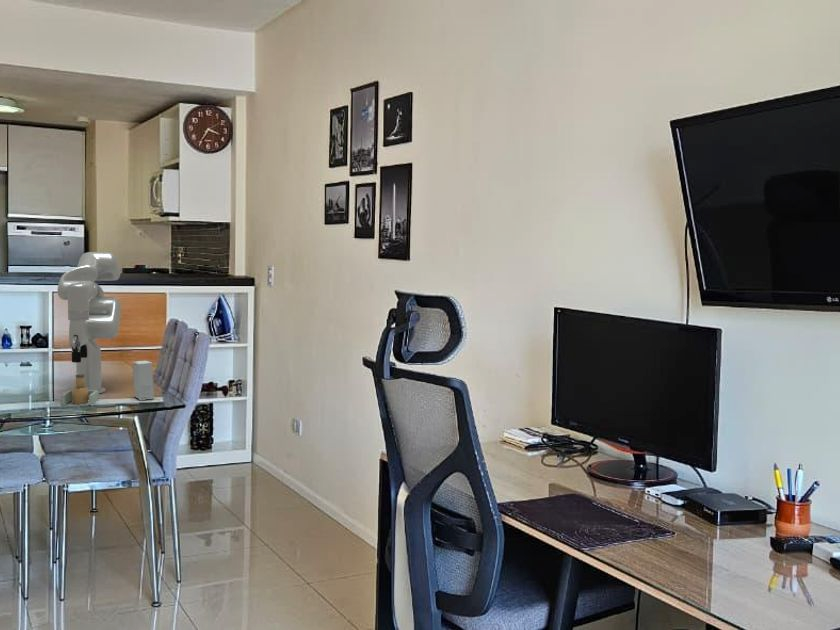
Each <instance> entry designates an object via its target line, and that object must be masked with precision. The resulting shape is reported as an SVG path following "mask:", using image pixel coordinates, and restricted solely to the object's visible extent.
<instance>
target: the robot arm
mask: <svg viewBox="0 0 840 630" xmlns="http://www.w3.org/2000/svg"><path fill="white" fill-rule="evenodd" d="M121 269H122V268H121V265H120V263H119V260H118V258H117V256H116V255H115V254H114V253H112V252H109V251H89V252H85V253H83V254H82V255H81V256H80V257H79V260H78V264H77V266H76V267H75V268H72V269H71V270H69V271H67V272H65V273H63V274H62V275H61V276H60V279H59V281H58V285H57V295H58V297H59V299H61V300H63V301H67V320H68V321H69V328H68V346H69V347H71V362H72V363H76V364H75V366H76V368H75V369H76V374H75V375H78V374H84V387H88V390H99V394H103V393H105V392H106V391H107V390H106V388H105V387H103V386H102V349H101V346H100V345H99V344H98V342H96V340H95V339H98V340H99V339H114V338H116V337H117V336H118V335H119V331H120V324H121V323H120V321H121V314H122V313H121V312H122V311H121V310H122V307H121V302H120V300H119V298H117V297H113V296H105V292H104V290H103V288H102V287H101V286H100V285H99V284H98V283H97V281H99V282H100V281H117V280H119V279H120V276H121V273H122V271H121ZM95 281H96V282H95Z"/></svg>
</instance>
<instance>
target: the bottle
mask: <svg viewBox="0 0 840 630" xmlns="http://www.w3.org/2000/svg"><path fill="white" fill-rule="evenodd" d="M72 395H73V401H72V405H75V404H83V405H86V404H85V403H88V404H89V401H88V387H84V374H78V375H77V374H75V386H74V387H72Z"/></svg>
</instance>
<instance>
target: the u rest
mask: <svg viewBox="0 0 840 630" xmlns="http://www.w3.org/2000/svg"><path fill="white" fill-rule="evenodd" d="M98 399H99V400H100V393H99V390H88V400H89V401H88V405H91V406H90V407H93V406H94V405H95V404H96V403H97V402H96V401H97V400H98ZM70 401H71V402H73V395H72V390H66V391H65V392H64V393H63V394H61V395H60V403H61V405H60V406H61V407H65V406H67V405H68V404H69V403H71V402H70ZM95 402H96V403H95ZM67 403H68V404H67ZM94 403H95V404H94ZM66 404H67V405H66ZM93 404H94V405H93Z"/></svg>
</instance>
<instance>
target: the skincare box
mask: <svg viewBox="0 0 840 630" xmlns="http://www.w3.org/2000/svg"><path fill="white" fill-rule="evenodd" d="M153 369H154V368H153V362H152V361H148V360H139V361H138V360H137V361H132V372H133V373H132V374H133V376H132V377H133V379H132V380H133V394H134V395H133V398H134V397H136V398H138V399H139V401H147V400H146V399H153V400H155V391H154V389H155V388H154V370H153ZM136 398H135V399H136ZM138 399H137V400H138Z"/></svg>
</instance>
